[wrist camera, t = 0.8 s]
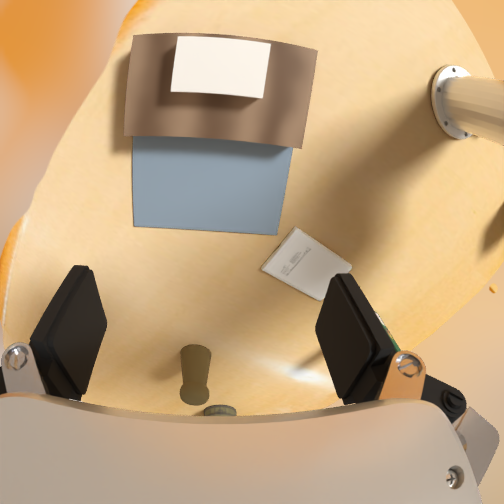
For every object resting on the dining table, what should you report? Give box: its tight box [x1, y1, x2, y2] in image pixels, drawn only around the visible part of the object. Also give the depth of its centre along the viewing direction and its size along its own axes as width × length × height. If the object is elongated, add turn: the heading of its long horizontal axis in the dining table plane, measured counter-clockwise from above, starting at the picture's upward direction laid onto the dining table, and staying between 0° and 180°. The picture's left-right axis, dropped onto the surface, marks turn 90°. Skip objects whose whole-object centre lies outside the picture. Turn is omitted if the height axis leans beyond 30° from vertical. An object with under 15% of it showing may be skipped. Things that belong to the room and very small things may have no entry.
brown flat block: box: [124, 33, 318, 149], centre depth 27 cm, size 20×12×4 cm, turn 82°
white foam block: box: [171, 36, 271, 99], centre depth 23 cm, size 9×6×2 cm, turn 82°
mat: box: [133, 136, 293, 235], centre depth 35 cm, size 20×13×1 cm, turn 82°
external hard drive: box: [261, 226, 352, 301], centre depth 43 cm, size 2×8×12 cm
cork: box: [180, 345, 211, 405], centre depth 47 cm, size 6×6×11 cm
